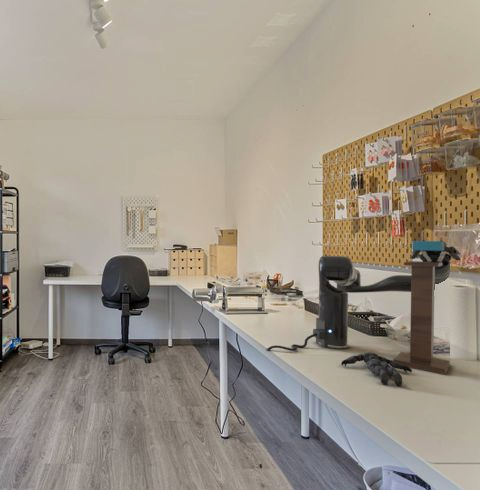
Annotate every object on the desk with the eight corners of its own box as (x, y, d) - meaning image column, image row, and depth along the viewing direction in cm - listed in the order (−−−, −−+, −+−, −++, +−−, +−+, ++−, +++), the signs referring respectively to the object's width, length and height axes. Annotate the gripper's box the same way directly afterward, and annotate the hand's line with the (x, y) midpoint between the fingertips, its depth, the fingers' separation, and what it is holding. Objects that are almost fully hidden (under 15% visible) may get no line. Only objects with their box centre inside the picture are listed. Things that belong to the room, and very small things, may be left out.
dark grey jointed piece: (432, 392, 93) (399, 365, 112) (433, 375, 93) (400, 351, 112) (352, 383, 99) (334, 358, 118) (353, 367, 99) (334, 345, 118)
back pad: (441, 250, 114) (441, 241, 114) (412, 250, 119) (412, 241, 119) (447, 250, 127) (447, 241, 127) (421, 249, 132) (421, 241, 132)
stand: (445, 374, 105) (447, 263, 104) (393, 364, 114) (395, 261, 113) (449, 365, 113) (451, 262, 112) (400, 356, 122) (402, 260, 121)
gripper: (462, 276, 129) (459, 252, 119) (411, 273, 140) (404, 251, 129) (464, 257, 131) (461, 233, 121) (413, 256, 142) (407, 233, 132)
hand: (432, 243), depth 125 cm, fingers closed on back pad, 4 cm apart
